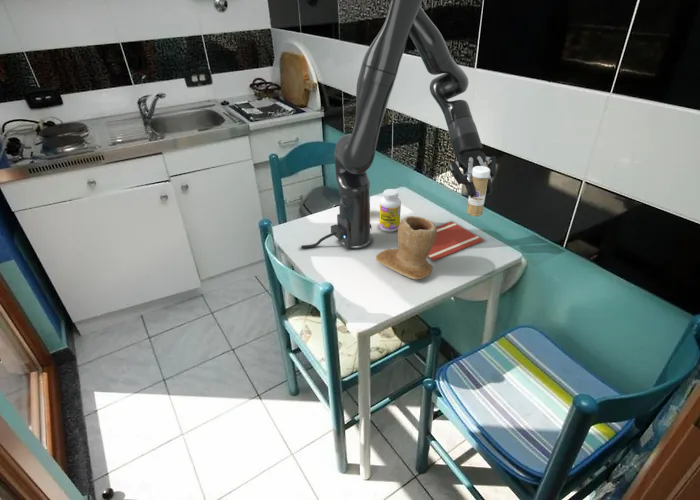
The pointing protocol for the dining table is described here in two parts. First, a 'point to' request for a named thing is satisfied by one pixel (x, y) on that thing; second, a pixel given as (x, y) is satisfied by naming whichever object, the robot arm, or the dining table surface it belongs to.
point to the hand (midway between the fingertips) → (481, 194)
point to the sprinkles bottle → (478, 190)
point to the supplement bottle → (390, 210)
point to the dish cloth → (451, 240)
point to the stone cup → (411, 248)
